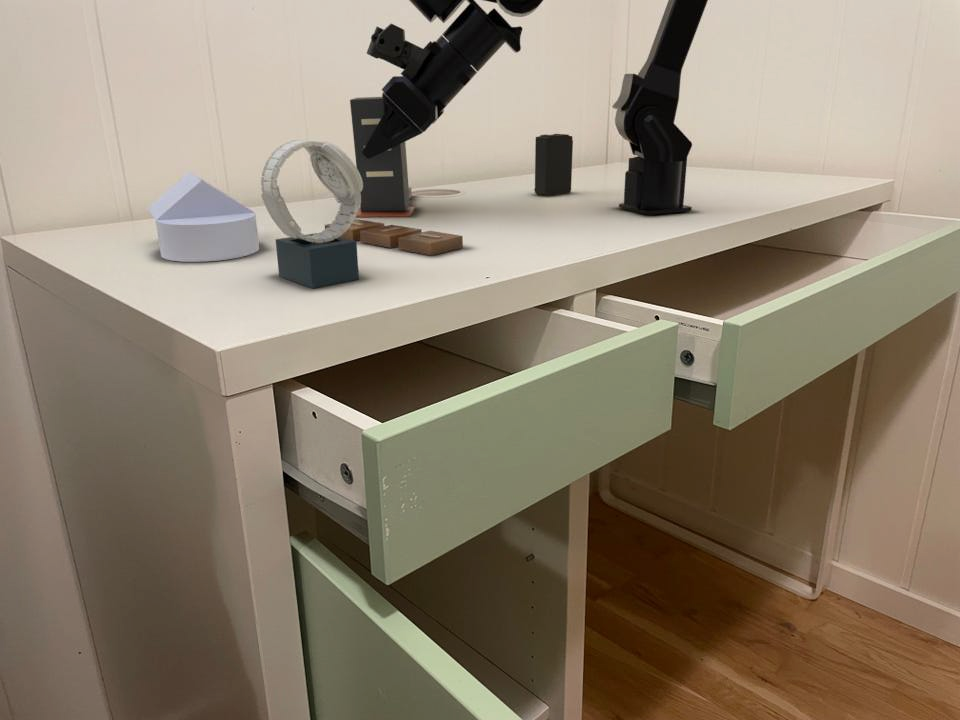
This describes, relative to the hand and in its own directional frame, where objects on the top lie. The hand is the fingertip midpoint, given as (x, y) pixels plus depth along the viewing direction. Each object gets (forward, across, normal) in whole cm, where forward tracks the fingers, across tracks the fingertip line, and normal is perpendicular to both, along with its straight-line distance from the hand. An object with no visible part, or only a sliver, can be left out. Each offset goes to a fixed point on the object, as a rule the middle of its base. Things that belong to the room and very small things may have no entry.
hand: (368, 153), depth 93 cm
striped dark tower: (+4, -1, +6) cm, 7 cm away
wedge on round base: (+15, +20, -4) cm, 25 cm away
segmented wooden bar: (+2, +18, +8) cm, 20 cm away
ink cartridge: (-12, -15, +22) cm, 28 cm away
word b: (+4, -5, +6) cm, 9 cm away
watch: (+5, +33, +5) cm, 33 cm away
